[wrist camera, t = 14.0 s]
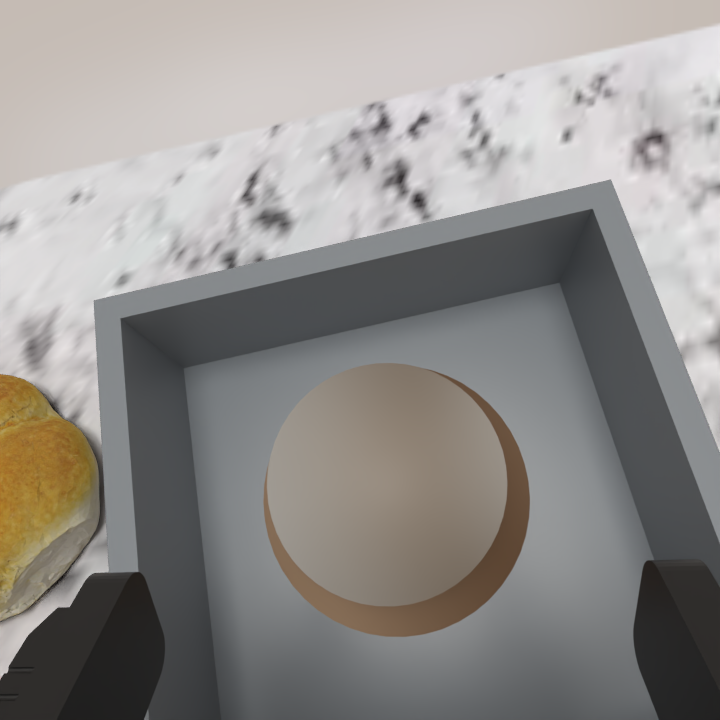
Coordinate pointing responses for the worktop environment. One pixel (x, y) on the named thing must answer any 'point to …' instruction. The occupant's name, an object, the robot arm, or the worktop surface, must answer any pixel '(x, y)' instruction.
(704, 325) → the worktop surface
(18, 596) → the bread roll
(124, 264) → the worktop surface
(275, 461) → the pepper mill
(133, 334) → the bin
